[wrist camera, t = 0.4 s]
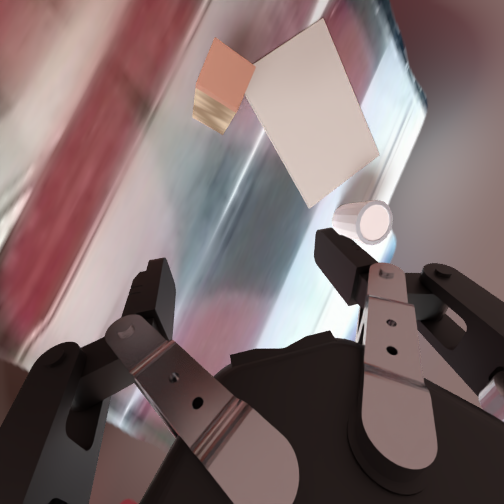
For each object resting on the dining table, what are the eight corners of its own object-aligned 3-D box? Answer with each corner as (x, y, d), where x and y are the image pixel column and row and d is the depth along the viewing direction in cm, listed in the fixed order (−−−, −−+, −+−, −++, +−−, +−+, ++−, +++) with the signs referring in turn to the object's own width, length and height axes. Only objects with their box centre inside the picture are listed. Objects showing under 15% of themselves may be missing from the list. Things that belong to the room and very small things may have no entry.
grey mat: (234, 77, 33) (235, 76, 33) (322, 19, 35) (323, 17, 34) (308, 208, 40) (309, 208, 40) (378, 155, 42) (379, 154, 41)
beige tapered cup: (355, 193, 42) (387, 192, 35) (365, 228, 44) (397, 233, 38) (323, 210, 41) (350, 212, 34) (335, 245, 43) (363, 252, 36)
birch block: (192, 117, 32) (196, 82, 23) (205, 85, 32) (214, 37, 23) (222, 134, 34) (238, 109, 25) (235, 104, 34) (256, 66, 24)
